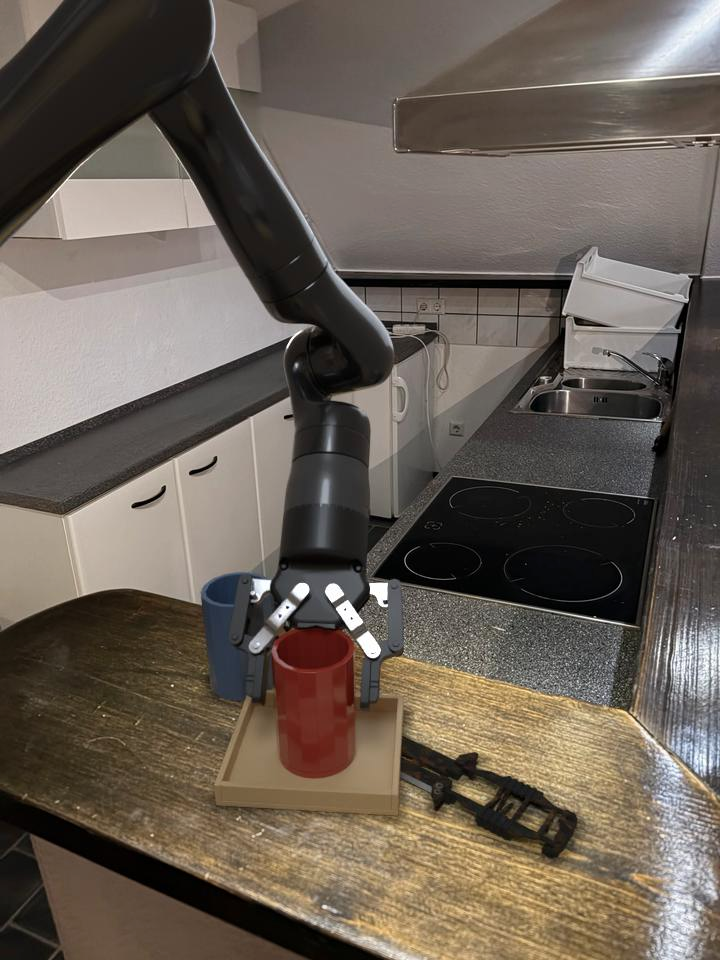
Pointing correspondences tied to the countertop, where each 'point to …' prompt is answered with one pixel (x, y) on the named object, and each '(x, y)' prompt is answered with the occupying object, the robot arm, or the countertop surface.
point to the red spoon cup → (315, 701)
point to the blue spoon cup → (221, 654)
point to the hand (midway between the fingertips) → (311, 707)
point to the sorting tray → (357, 789)
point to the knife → (487, 814)
